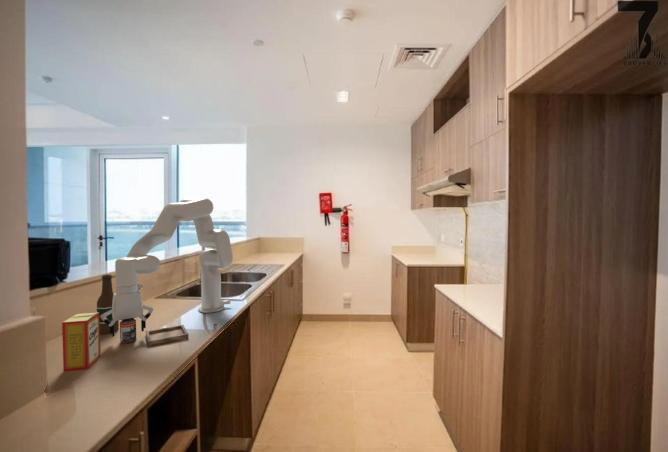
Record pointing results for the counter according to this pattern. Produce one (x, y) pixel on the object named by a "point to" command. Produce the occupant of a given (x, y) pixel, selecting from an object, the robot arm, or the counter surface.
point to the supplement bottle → (128, 330)
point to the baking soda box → (81, 341)
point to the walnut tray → (166, 335)
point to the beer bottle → (106, 304)
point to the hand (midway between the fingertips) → (128, 332)
